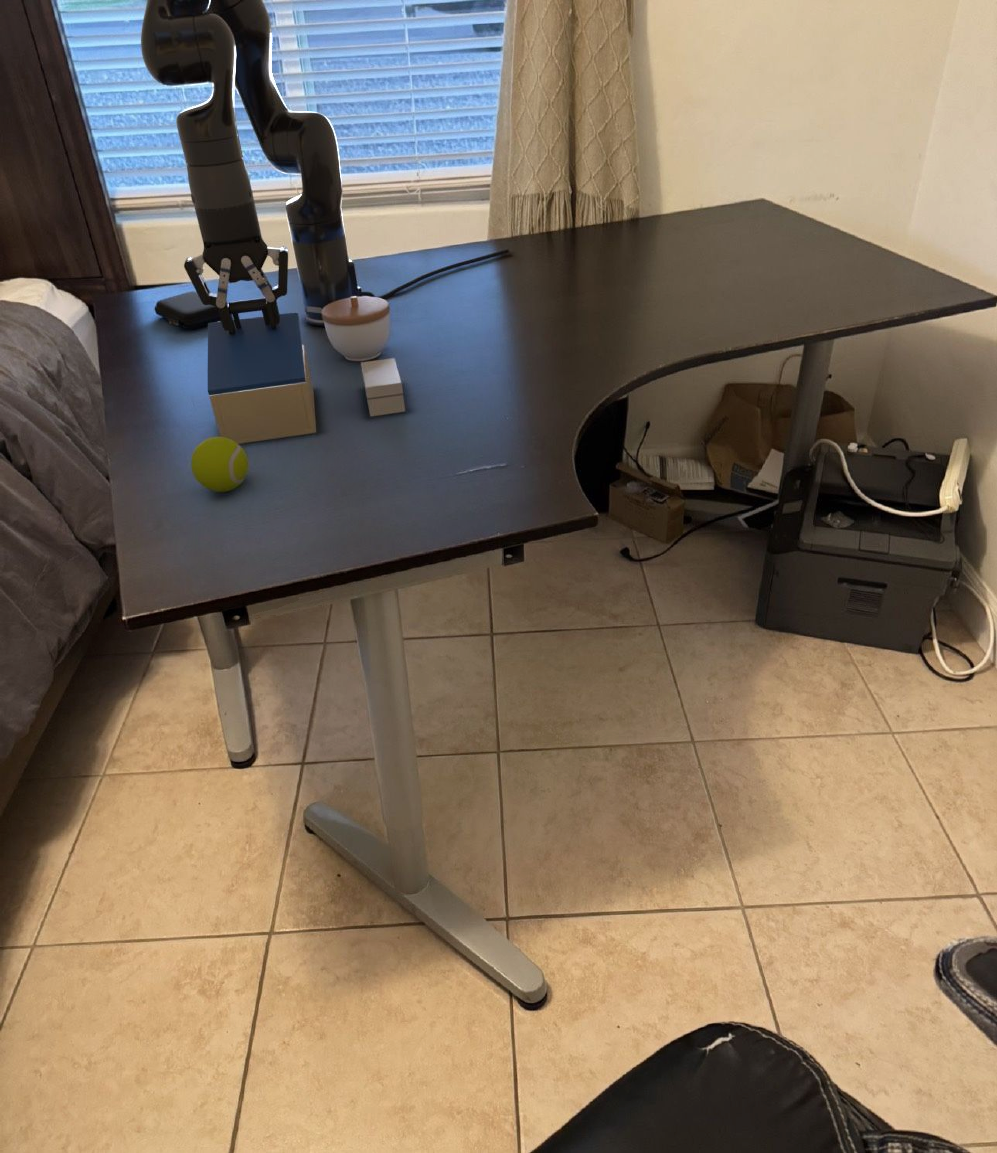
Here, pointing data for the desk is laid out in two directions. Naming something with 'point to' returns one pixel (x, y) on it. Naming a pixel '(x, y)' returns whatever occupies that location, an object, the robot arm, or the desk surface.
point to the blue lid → (254, 351)
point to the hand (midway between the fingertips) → (253, 329)
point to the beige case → (383, 387)
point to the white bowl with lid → (358, 326)
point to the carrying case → (187, 311)
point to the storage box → (266, 411)
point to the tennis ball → (219, 464)
